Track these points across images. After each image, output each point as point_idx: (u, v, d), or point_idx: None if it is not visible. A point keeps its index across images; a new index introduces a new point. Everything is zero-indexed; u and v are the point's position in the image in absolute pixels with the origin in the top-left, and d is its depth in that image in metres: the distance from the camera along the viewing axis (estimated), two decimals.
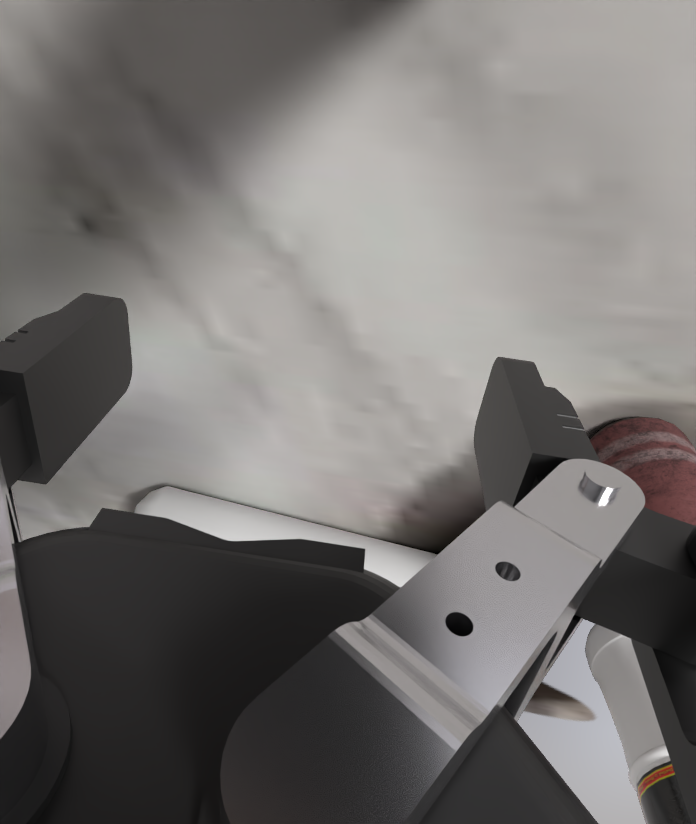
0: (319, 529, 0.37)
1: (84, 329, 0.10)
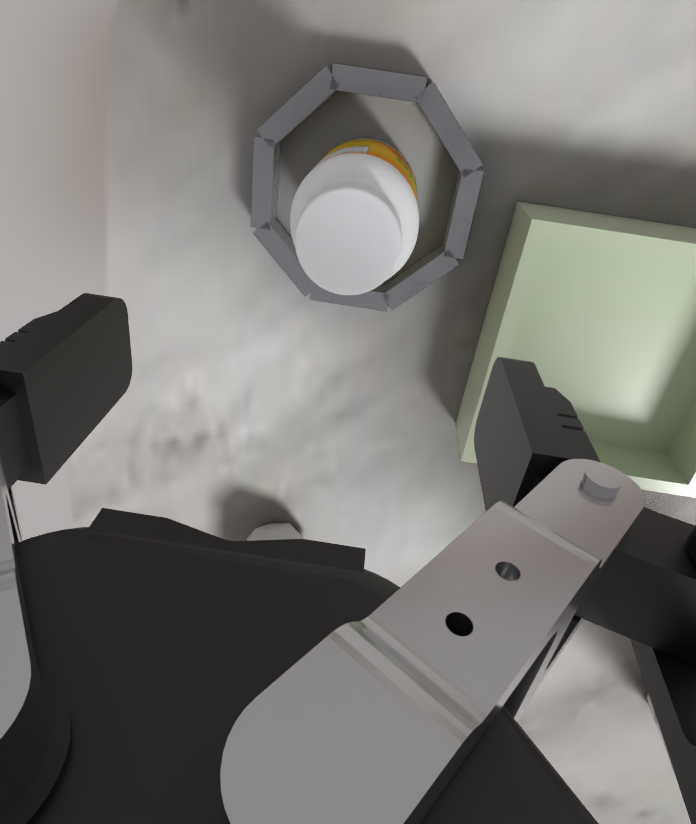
0: None
1: (84, 329, 0.10)
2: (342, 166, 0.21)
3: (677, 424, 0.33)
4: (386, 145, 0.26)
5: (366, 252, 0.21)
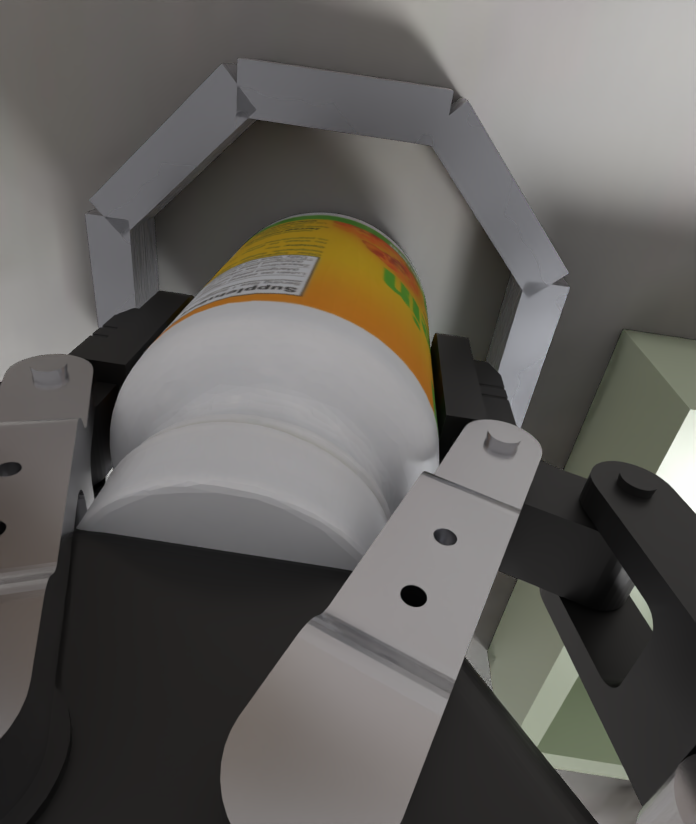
0: None
1: (166, 324, 0.11)
2: (222, 350, 0.07)
3: None
4: (363, 233, 0.12)
5: None
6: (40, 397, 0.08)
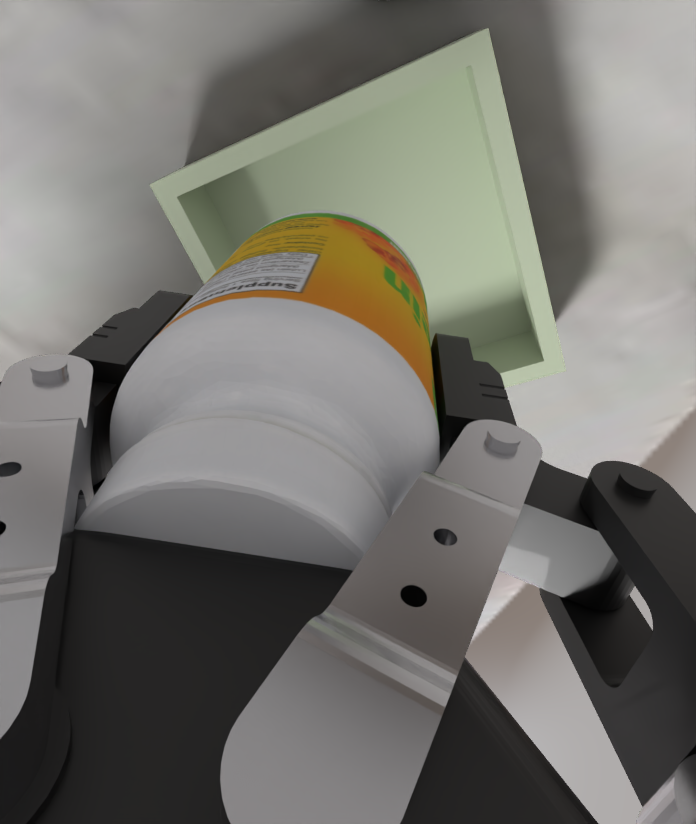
0: None
1: (166, 324, 0.11)
2: (222, 346, 0.07)
3: None
4: (364, 231, 0.12)
5: None
6: (40, 397, 0.08)
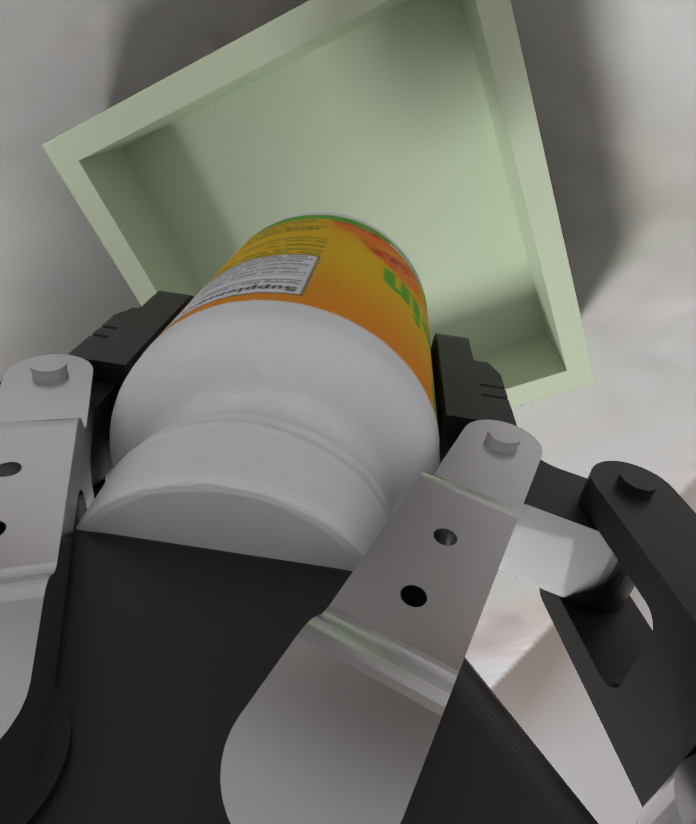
0: None
1: (166, 324, 0.11)
2: (222, 349, 0.07)
3: None
4: (364, 233, 0.12)
5: None
6: (40, 397, 0.08)
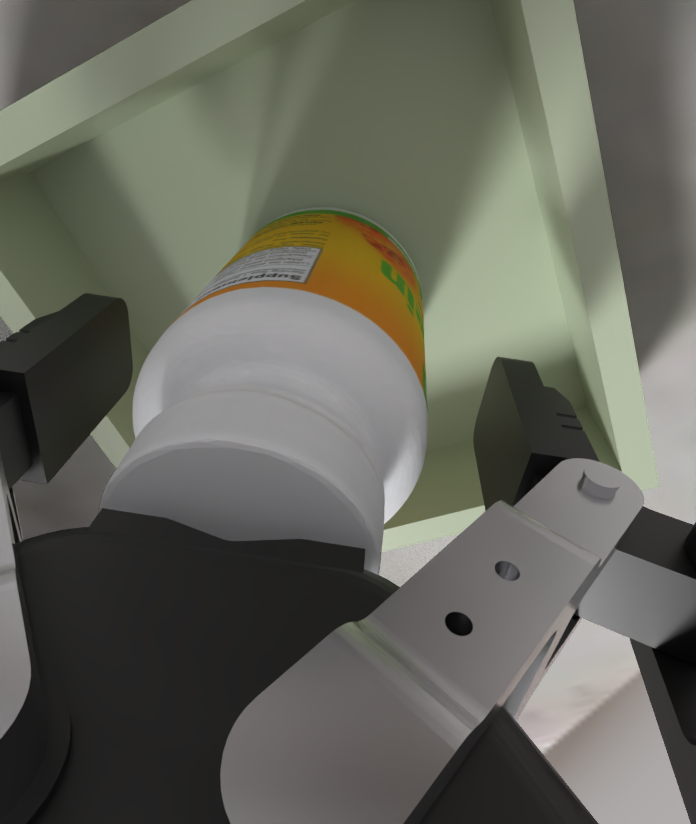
0: None
1: (85, 329, 0.10)
2: (234, 330, 0.08)
3: None
4: (363, 227, 0.13)
5: None
6: None
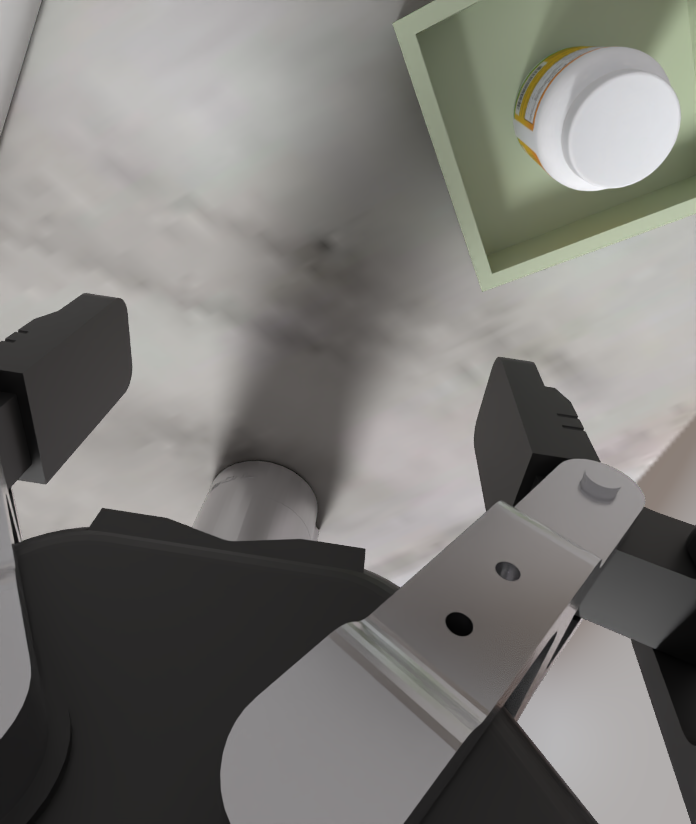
0: (6, 100, 0.31)
1: (84, 329, 0.10)
2: (609, 57, 0.21)
3: (518, 240, 0.33)
4: None
5: (641, 140, 0.21)
6: None
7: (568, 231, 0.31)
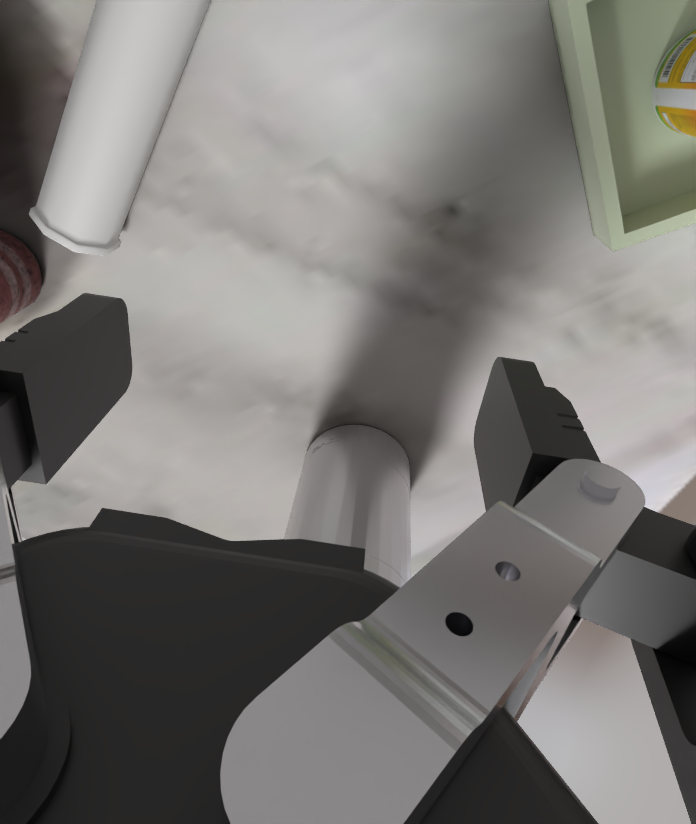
0: (182, 64, 0.33)
1: (84, 329, 0.10)
2: None
3: (640, 206, 0.35)
4: None
5: None
6: None
7: (693, 197, 0.33)
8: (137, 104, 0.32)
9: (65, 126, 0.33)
